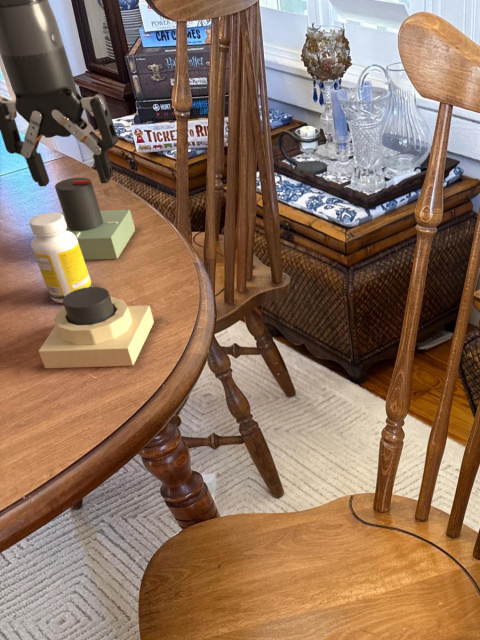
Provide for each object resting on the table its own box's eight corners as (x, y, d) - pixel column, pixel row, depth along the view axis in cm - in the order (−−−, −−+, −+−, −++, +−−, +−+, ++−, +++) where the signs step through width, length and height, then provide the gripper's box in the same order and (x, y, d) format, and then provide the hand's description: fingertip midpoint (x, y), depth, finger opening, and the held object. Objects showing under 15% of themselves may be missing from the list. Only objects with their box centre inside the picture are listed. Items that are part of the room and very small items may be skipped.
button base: (45, 368, 87) (32, 336, 85) (72, 324, 95) (61, 293, 92) (133, 365, 87) (123, 333, 84) (154, 322, 94) (145, 291, 92)
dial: (63, 231, 108) (49, 188, 104) (74, 217, 112) (60, 175, 108) (97, 230, 108) (84, 187, 104) (107, 216, 112) (94, 174, 108)
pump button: (63, 327, 87) (56, 308, 85) (77, 306, 90) (70, 287, 89) (108, 326, 87) (101, 306, 85) (119, 305, 90) (114, 285, 89)
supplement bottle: (96, 283, 103) (72, 208, 96) (91, 302, 99) (66, 225, 92) (54, 287, 102) (27, 212, 96) (47, 306, 98) (18, 229, 92)
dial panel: (46, 261, 108) (38, 239, 106) (68, 232, 116) (61, 210, 114) (117, 258, 108) (110, 236, 106) (135, 229, 115) (129, 208, 113)
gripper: (97, 35, 97) (134, 171, 108) (-15, 41, 98) (33, 175, 109) (78, 50, 92) (119, 191, 103) (-40, 56, 92) (13, 195, 104)
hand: (75, 183), depth 106 cm, fingers open, 8 cm apart
